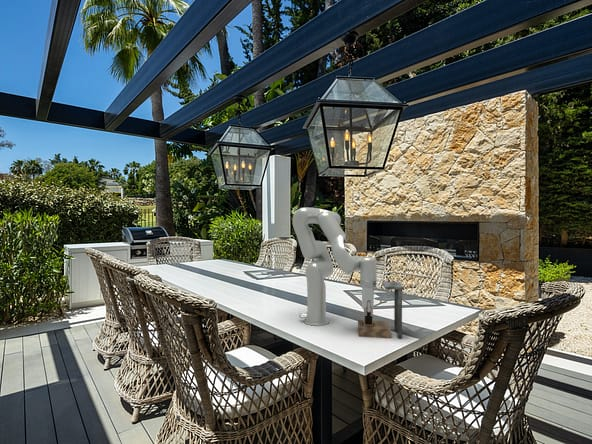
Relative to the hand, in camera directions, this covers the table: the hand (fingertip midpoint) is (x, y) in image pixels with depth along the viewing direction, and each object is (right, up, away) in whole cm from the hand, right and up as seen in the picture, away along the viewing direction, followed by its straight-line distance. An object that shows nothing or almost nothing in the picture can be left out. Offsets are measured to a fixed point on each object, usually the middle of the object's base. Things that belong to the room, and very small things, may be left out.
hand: (368, 322), depth 155 cm
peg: (0, -3, 0) cm, 3 cm away
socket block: (+5, -5, -1) cm, 7 cm away
